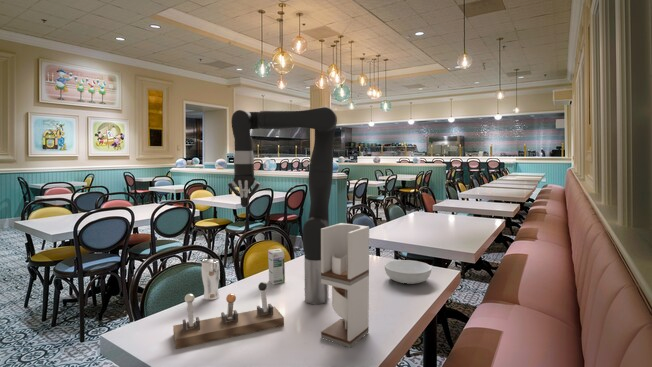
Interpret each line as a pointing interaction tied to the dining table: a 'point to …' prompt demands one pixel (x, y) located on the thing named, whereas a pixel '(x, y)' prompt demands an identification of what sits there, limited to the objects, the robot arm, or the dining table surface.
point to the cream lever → (190, 311)
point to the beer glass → (210, 278)
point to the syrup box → (276, 266)
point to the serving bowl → (408, 271)
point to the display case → (346, 280)
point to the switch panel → (226, 326)
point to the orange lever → (230, 307)
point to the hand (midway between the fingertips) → (245, 206)
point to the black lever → (263, 297)
